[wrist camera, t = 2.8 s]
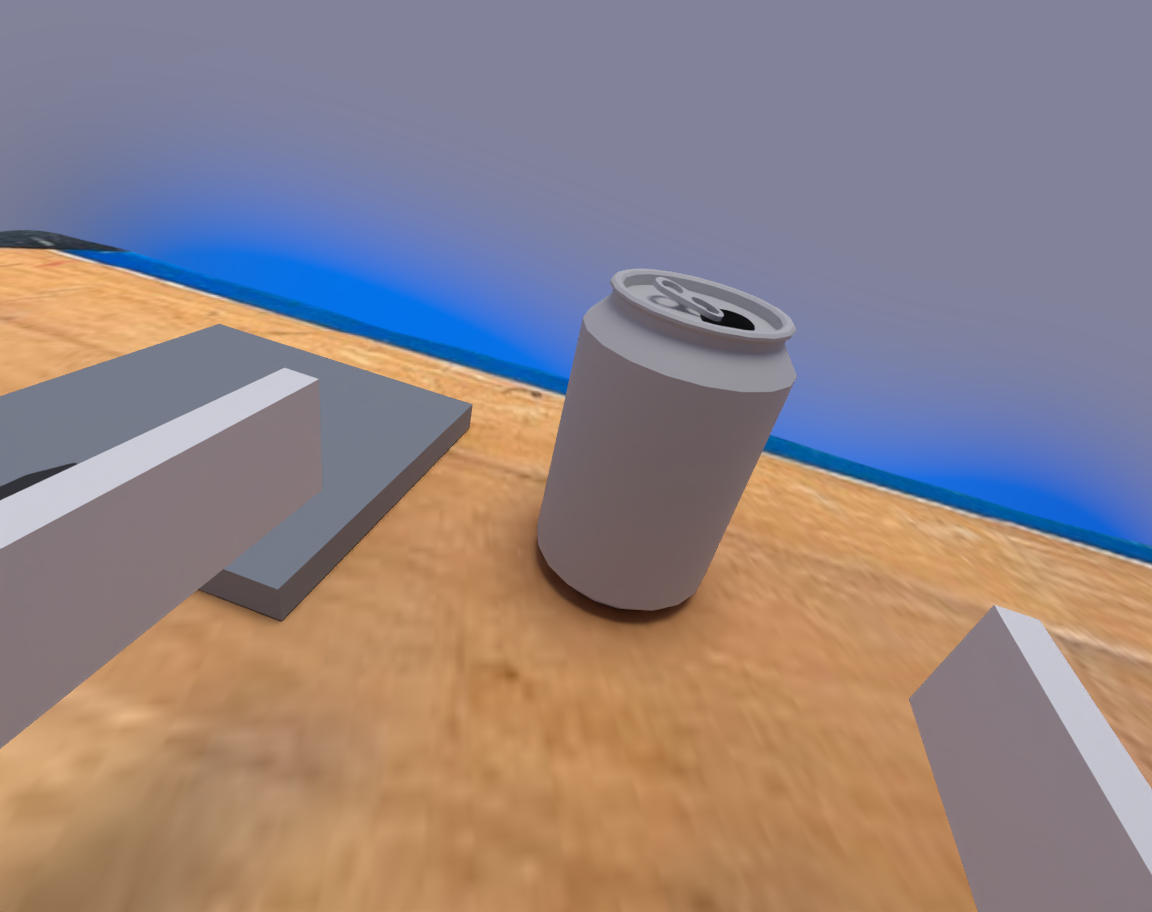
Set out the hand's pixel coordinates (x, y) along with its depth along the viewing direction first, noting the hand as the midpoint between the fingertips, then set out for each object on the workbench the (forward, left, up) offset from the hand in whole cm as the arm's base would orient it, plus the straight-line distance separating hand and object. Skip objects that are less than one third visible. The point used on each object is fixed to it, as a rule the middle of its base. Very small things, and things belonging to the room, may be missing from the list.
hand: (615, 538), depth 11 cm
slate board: (+18, -9, -9) cm, 22 cm away
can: (0, -10, -9) cm, 14 cm away
